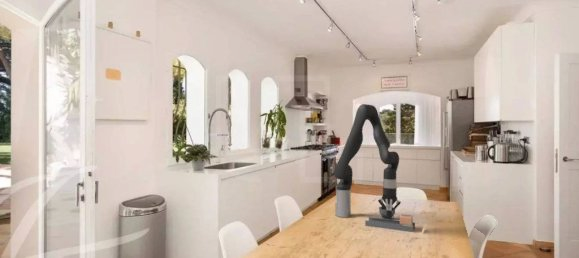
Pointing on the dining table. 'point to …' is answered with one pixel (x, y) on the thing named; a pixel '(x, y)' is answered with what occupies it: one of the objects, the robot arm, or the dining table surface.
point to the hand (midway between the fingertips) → (389, 216)
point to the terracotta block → (406, 220)
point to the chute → (388, 224)
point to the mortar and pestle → (384, 212)
